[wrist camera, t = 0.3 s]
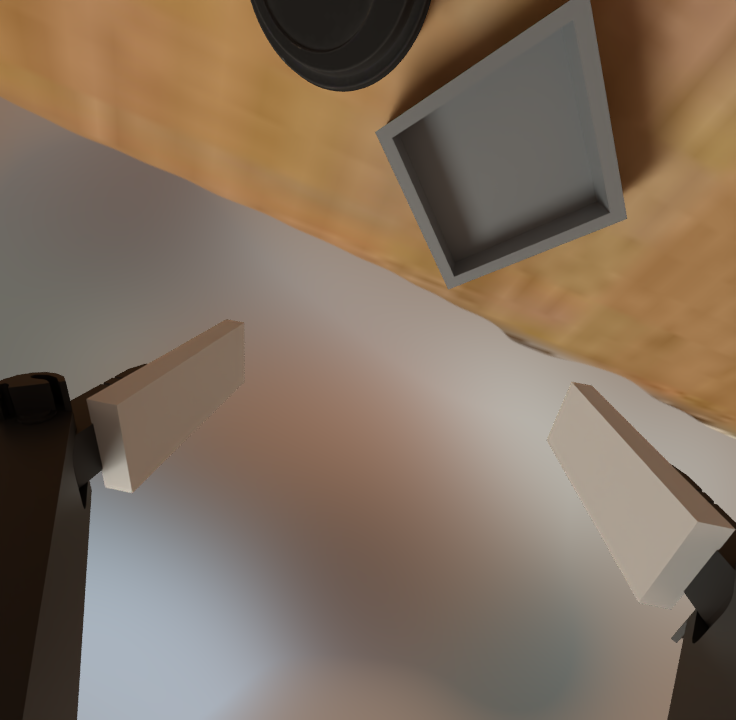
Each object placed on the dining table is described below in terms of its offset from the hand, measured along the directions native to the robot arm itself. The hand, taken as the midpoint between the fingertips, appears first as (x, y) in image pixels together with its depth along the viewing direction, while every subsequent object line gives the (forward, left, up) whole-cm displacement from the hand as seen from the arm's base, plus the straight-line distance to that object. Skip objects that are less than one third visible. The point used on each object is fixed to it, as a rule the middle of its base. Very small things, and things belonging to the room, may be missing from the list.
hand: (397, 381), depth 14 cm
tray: (-6, -1, -26) cm, 27 cm away
